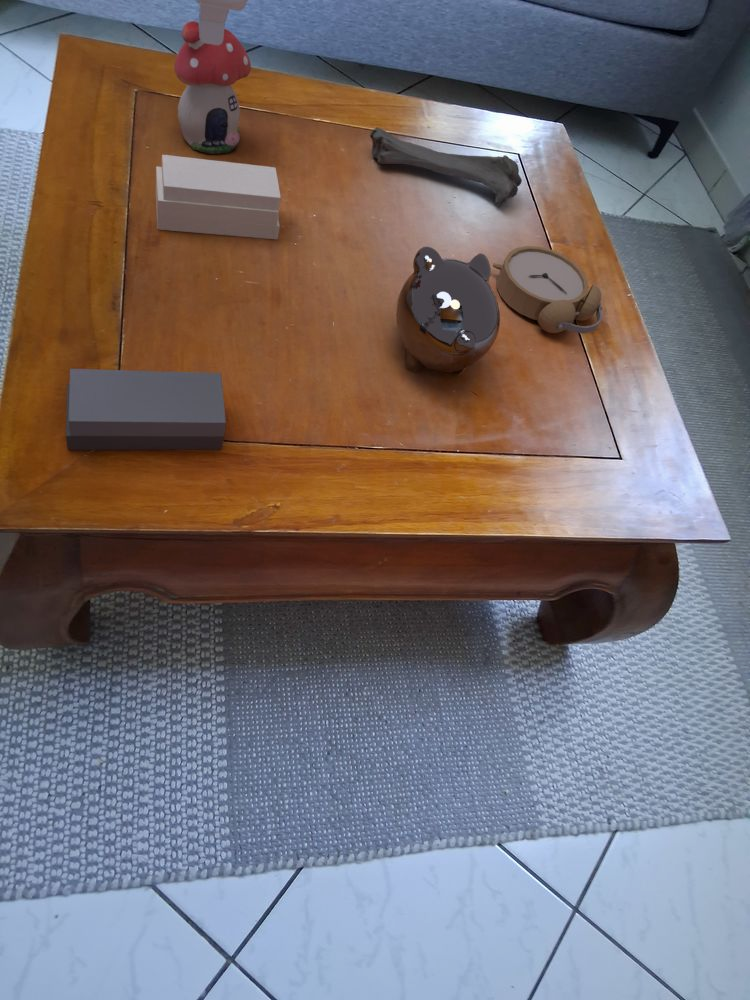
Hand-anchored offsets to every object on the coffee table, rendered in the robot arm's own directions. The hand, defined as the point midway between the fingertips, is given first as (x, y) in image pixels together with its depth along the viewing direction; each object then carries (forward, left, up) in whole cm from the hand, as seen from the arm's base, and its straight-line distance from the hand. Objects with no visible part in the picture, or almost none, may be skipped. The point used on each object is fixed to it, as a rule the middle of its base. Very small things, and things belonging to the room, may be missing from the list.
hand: (206, 6), depth 61 cm
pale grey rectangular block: (+4, +11, -25) cm, 28 cm away
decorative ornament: (+4, +26, -29) cm, 39 cm away
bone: (+36, +23, -29) cm, 52 cm away
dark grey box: (-5, -20, -29) cm, 36 cm away
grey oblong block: (+4, +11, -29) cm, 31 cm away
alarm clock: (+45, 0, -29) cm, 54 cm away
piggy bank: (+27, -9, -29) cm, 41 cm away
